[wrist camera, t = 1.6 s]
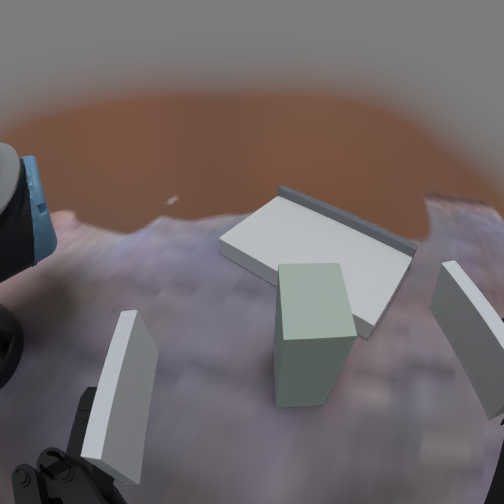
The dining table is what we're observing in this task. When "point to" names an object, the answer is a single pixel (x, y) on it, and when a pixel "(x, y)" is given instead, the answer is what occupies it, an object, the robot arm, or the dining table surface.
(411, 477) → the dining table surface
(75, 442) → the robot arm
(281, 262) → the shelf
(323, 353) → the carton
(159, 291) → the dining table surface
